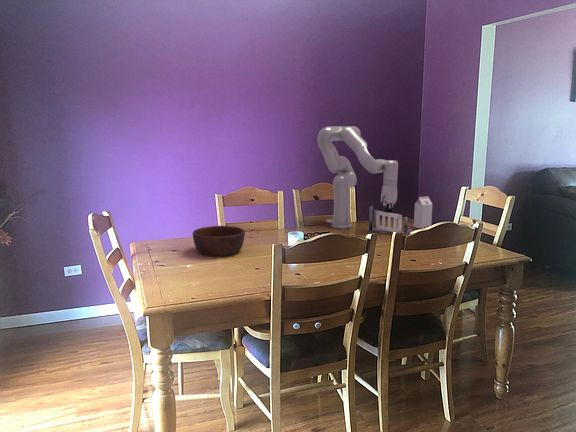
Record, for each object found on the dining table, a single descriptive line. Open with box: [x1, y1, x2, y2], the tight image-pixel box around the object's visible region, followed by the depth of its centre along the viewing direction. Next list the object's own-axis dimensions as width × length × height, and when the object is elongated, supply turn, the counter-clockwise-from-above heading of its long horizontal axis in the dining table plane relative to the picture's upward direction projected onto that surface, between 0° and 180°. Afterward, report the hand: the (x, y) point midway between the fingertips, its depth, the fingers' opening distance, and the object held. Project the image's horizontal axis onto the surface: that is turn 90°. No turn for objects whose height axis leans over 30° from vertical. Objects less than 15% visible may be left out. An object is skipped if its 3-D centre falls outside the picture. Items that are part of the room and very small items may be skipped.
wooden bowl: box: [192, 225, 245, 258], centre depth 245 cm, size 25×25×10 cm
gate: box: [373, 209, 403, 232], centre depth 281 cm, size 19×2×10 cm, turn 40°
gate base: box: [367, 205, 414, 235], centre depth 286 cm, size 25×9×14 cm, turn 79°
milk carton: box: [413, 196, 433, 229], centre depth 293 cm, size 7×7×19 cm
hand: (388, 215), depth 283 cm, fingers closed
